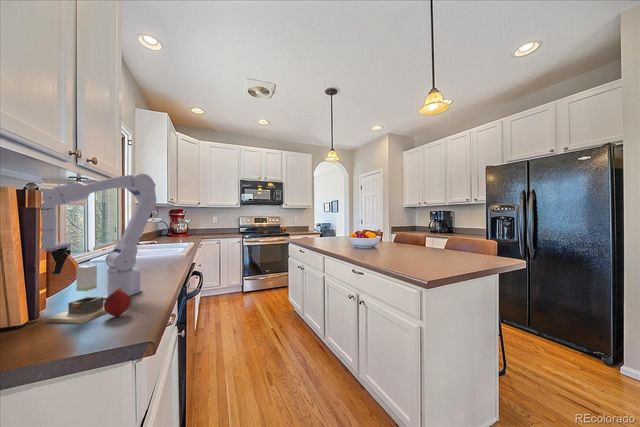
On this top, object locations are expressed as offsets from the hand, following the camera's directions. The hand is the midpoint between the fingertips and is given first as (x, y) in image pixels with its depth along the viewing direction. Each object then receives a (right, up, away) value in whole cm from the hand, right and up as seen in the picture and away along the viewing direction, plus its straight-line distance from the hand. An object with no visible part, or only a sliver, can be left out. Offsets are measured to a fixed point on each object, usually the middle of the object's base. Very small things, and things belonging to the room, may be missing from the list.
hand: (41, 276), depth 72 cm
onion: (+24, -11, -3) cm, 27 cm away
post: (+14, -3, -1) cm, 14 cm away
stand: (+14, -11, -1) cm, 17 cm away
